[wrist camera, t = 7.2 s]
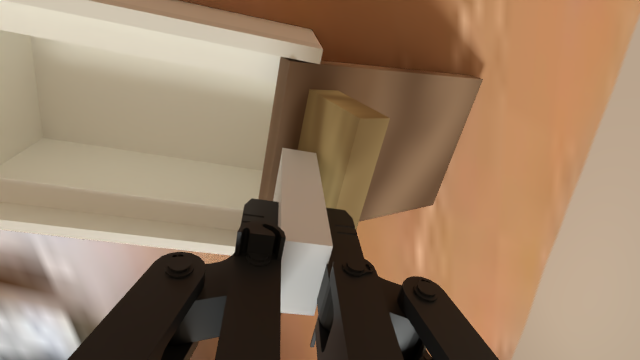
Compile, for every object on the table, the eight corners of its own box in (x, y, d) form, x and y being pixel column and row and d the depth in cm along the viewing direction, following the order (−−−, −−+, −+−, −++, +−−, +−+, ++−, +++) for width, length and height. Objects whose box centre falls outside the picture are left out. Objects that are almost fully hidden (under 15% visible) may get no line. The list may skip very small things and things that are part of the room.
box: (31, 157, 24) (-64, 222, 17) (3, -38, 19) (-143, -49, 13) (281, 192, 27) (279, 261, 20) (311, 29, 22) (322, 49, 15)
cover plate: (252, 235, 20) (294, 290, 17) (280, 56, 16) (341, 88, 13) (424, 199, 28) (472, 232, 25) (472, 75, 24) (536, 97, 21)
